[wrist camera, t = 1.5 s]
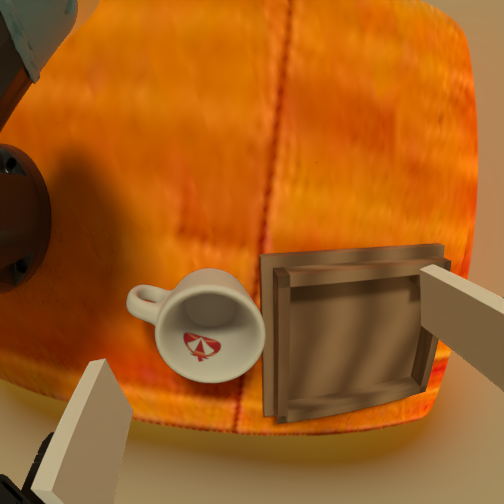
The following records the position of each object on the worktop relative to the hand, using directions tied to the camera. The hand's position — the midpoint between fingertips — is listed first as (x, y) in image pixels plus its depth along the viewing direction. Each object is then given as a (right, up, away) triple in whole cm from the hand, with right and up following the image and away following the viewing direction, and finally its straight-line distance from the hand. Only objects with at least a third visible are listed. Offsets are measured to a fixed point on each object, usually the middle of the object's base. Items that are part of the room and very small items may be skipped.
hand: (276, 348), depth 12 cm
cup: (-6, 0, +18) cm, 19 cm away
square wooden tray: (+10, -5, +21) cm, 24 cm away
